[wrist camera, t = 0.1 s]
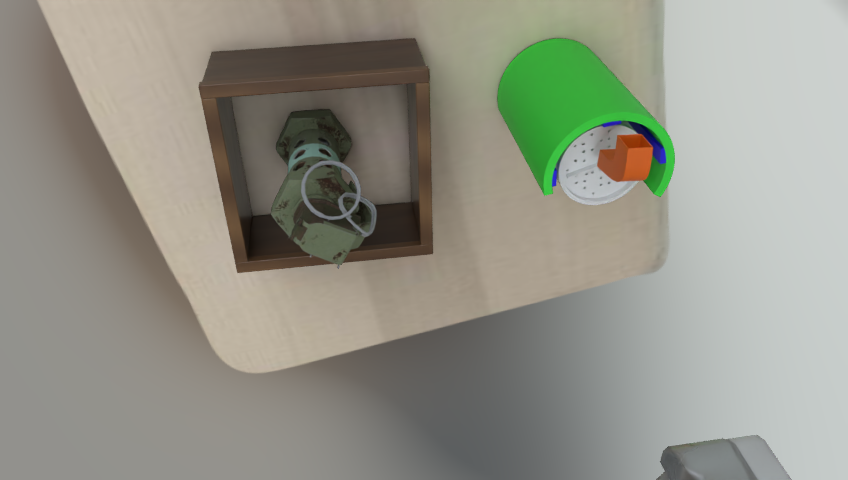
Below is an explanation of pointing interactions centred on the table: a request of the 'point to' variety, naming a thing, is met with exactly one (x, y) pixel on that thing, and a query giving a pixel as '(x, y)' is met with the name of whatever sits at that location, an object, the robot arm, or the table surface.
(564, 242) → the table surface
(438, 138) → the table surface
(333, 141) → the grenade
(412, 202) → the wooden box
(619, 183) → the green-shelled ribbed roller
